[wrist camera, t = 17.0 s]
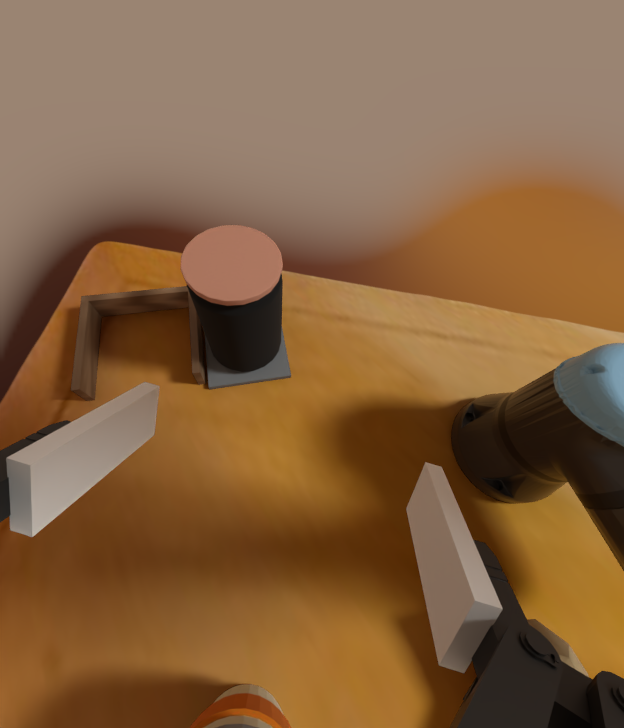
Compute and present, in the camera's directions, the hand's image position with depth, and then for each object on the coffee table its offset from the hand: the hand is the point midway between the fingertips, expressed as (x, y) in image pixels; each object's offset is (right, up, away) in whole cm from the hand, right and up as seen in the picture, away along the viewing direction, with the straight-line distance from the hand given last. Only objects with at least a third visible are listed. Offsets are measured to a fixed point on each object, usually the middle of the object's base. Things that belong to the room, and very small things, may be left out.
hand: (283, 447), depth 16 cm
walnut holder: (-24, +6, +34) cm, 42 cm away
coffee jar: (-9, +7, +35) cm, 37 cm away
